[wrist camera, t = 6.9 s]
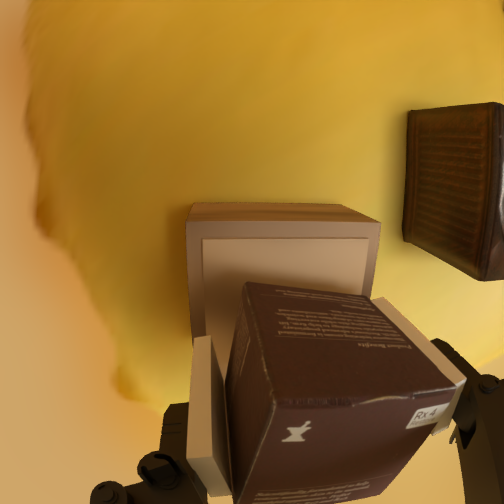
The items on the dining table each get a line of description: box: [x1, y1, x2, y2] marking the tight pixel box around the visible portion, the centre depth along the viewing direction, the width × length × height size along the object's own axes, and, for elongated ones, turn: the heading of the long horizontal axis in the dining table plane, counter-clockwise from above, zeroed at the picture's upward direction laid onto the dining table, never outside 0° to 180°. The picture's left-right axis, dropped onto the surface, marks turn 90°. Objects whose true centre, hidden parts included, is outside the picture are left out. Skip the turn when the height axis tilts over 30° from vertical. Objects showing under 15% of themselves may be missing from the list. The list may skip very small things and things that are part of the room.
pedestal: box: [185, 203, 381, 383], centre depth 19 cm, size 10×10×6 cm
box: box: [224, 281, 457, 504], centre depth 11 cm, size 6×6×7 cm
